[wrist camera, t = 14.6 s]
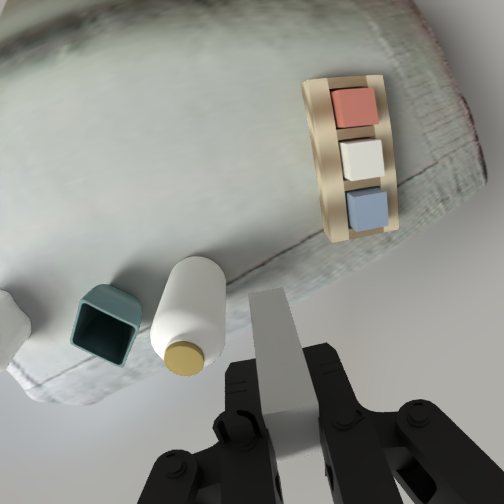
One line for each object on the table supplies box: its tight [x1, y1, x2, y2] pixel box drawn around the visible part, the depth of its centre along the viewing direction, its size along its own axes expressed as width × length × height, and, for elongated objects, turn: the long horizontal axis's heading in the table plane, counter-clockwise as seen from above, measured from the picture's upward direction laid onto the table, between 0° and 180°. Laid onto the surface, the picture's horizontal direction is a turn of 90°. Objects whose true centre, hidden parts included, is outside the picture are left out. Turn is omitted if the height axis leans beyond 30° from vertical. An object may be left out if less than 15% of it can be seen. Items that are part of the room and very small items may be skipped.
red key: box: [330, 88, 379, 128], centre depth 35 cm, size 4×4×5 cm
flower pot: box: [70, 284, 142, 368], centre depth 44 cm, size 9×9×9 cm
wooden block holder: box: [301, 75, 399, 243], centre depth 40 cm, size 21×10×4 cm, turn 11°
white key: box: [338, 138, 385, 181], centre depth 38 cm, size 4×4×5 cm
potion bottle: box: [150, 256, 226, 376], centre depth 39 cm, size 8×8×18 cm
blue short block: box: [345, 186, 388, 232], centre depth 40 cm, size 4×4×5 cm
